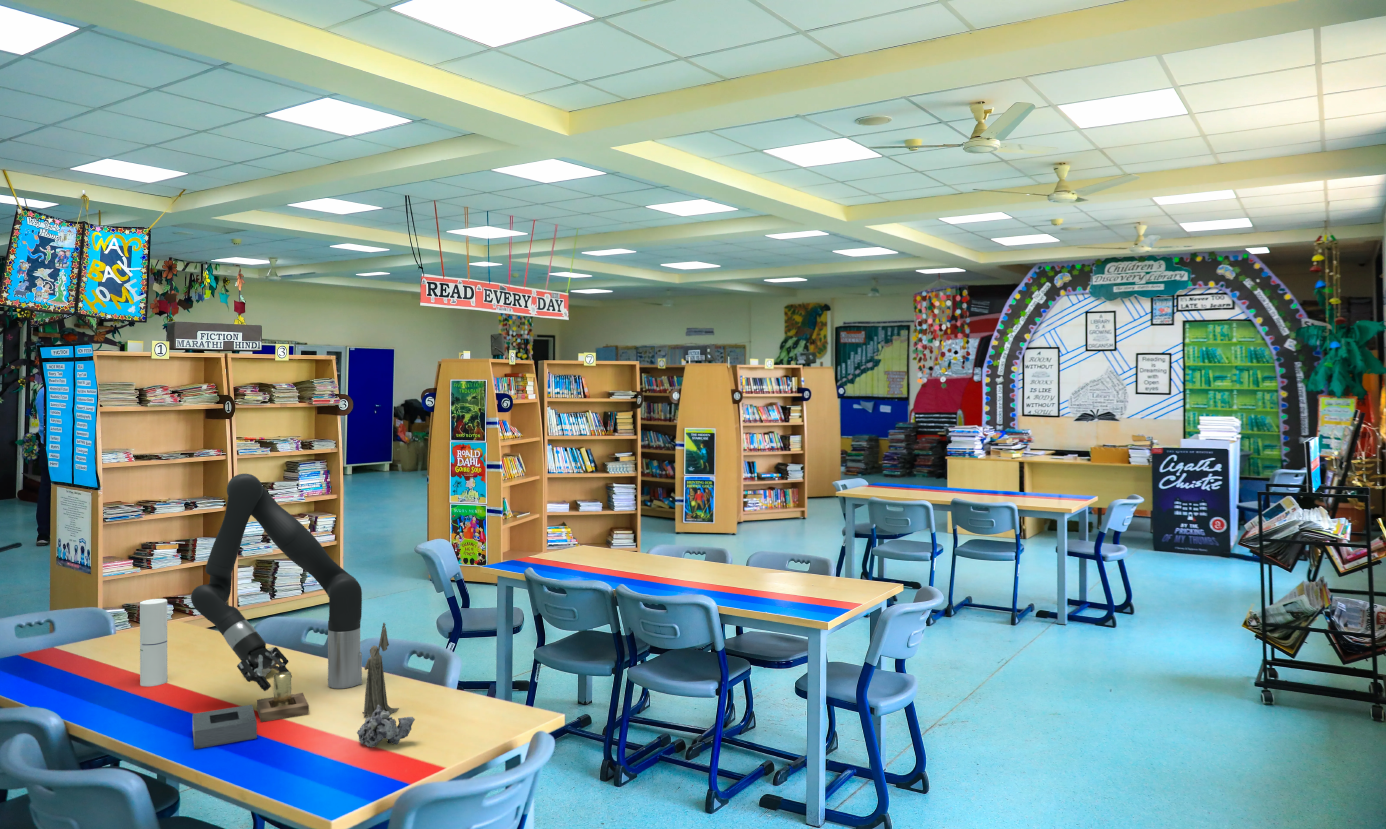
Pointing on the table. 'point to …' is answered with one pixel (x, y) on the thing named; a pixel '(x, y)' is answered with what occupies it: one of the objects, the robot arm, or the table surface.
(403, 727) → the mineral specimen
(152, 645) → the cylindrical container
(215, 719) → the charcoal block
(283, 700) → the brass peg
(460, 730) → the table surface
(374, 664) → the wizard figurine
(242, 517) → the robot arm
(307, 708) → the walnut stand
